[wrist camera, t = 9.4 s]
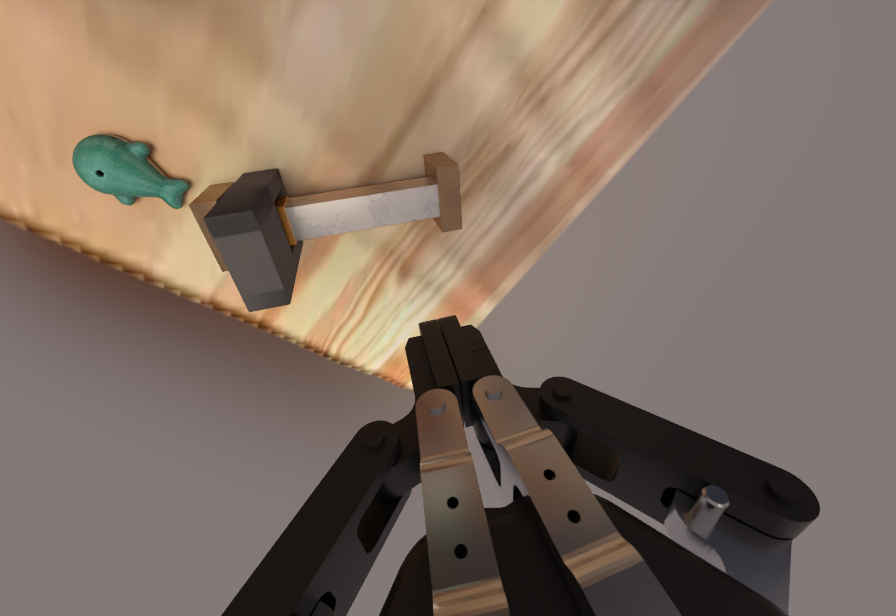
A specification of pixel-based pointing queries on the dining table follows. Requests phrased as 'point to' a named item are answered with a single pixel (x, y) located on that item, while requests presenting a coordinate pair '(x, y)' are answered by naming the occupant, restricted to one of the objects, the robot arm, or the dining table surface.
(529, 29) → the dining table surface
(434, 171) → the grey bar with endplates
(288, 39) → the dining table surface
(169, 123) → the dining table surface
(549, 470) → the robot arm
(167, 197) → the whale figurine
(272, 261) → the collar
